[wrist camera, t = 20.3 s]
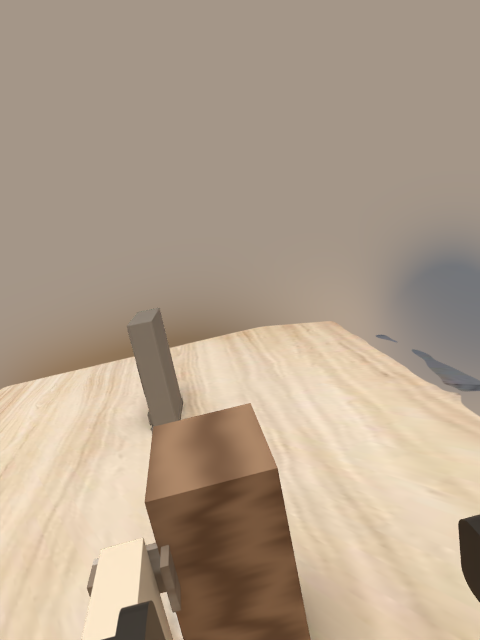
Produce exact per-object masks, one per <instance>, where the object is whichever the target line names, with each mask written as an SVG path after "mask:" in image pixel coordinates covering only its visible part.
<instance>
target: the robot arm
mask: <svg viewBox="0 0 480 640" xmlns="http://www.w3.org/2000/svg"><path fill="white" fill-rule="evenodd" d="M458 526H459V540H460V554H461V566H462V571H463V574H464V577H465V579H466V582H467V584H468V586H469V588H470V589H471V591H472V593H473V594H474V595H475V597H476V598H477V599H478V601H479V602H480V515H476V516H472V517H469V518H465V519H461V520H460V521H459V524H458ZM102 640H166V639H165V636H164V633H163V630H162V627H161V624H160V621H159V618H158V614H157V611H156V608H155V605H154V603H153V601H152V600H150V601H146V602H143V603H139V604H135V605H131V606H127V607H124V608H121V610H120V612H119V616H118V622H117V628H116V634H115V636H113V637H110V638H106V639H102Z"/></svg>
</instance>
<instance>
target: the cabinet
mask: <svg viewBox="0 0 480 640" xmlns="http://www.w3.org/2000/svg"><path fill="white" fill-rule="evenodd" d="M145 505H146V509H147V512H148V516H149V519H150V523H151V526H152V530H153V533H154V537H155V540H156V543H153V544H149V545H146V549H147V552H148V556H149V559H150V562H151V566H152V569H153V573H154V576H155V580H156V583H157V586H158V590H159V593H163V592H167V594H168V598H169V601H170V605H171V608H172V612H176V614H177V618H178V621H179V625H180V628H181V632H182V635H183V639H184V640H310V635H309V630H308V624H307V619H306V614H305V609H304V604H303V598H302V593H301V588H300V583H299V578H298V572H297V567H296V562H295V557H294V551H293V546H292V541H291V536H290V531H289V525H288V520H287V515H286V510H285V504H284V499H283V494H282V489H281V484H280V478H279V473H278V468H277V466H276V463H275V461H274V458H273V456H272V454H271V451H270V449H269V446H268V444H267V442H266V439H265V437H264V434H263V432H262V430H261V427H260V425H259V422H258V420H257V418H256V415H255V413H254V411H253V408H252V406H251V403H249V404H245V405H241V406H237V407H233V408H228V409H224V410H220V411H216V412H212V413H208V414H204V415H200V416H195V417H191V418H187V419H183V420H179V421H175V422H171V423H167V424H163V425H158V426H154V427H153V434H152V443H151V452H150V461H149V469H148V478H147V487H146V496H145ZM98 560H99V558H97V559H94V561H93V565H92V569H91V573H90V577H89V581H88V585H87V590H88V593H89V596H90V597H91V593H92V588H93V583H94V579H95V574H96V570H97V565H98Z"/></svg>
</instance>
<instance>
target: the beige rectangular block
mask: <svg viewBox="0 0 480 640" xmlns="http://www.w3.org/2000/svg"><path fill="white" fill-rule="evenodd" d="M150 600H152V601H153V603H154V605H155V608H156V611H157V614H158V618H159V621H160V624H161V627H162V630H163V633H164V636H165V639H166V640H173V638H172V634H171V631H170V627H169V624H168V621H167V617H166V614H165V610H164V607H163V603H162V600H161V597H160V593H159V590H158V586H157V583H156V580H155V576H154V573H153V569H152V566H151V562H150V559H149V556H148V552H147V549H146V545H145V542H144V538H140V539H137V540H133V541H129V542H126V543H122V544H119V545H115V546H111V547H108V548H104V549H101V551H100V556H99V560H98V565H97V570H96V574H95V579H94V583H93V588H92V593H91V597H90V602H89V607H88V611H87V616H86V621H85V625H84V630H83V634H82V639H81V640H102V639H106V638H110V637H113V636H115V634H116V628H117V622H118V616H119V612H120V610H121V608H124V607H127V606H131V605H135V604H139V603H143V602H146V601H150Z"/></svg>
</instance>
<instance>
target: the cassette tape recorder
mask: <svg viewBox="0 0 480 640" xmlns="http://www.w3.org/2000/svg"><path fill="white" fill-rule="evenodd" d="M127 329H128V333H129V337H130V340H131V344H132V348H133V352H134V356H135V359H136V364H137V368H138V372H139V375H140V379H141V383H142V387H143V390H144V394H145V397H146V400H147V404H148V408H149V412H148V418H149V422H150V425H152V428H151V430H152V434H153V427H154V426H158V425H163V424H167V423H171V422H175V421H179V420H180V417H181V411H182V405H183V400H182V398H181V394H180V390H179V386H178V382H177V378H176V374H175V370H174V366H173V362H172V357H171V353H170V349H169V345H168V341H167V338H166V333H165V329H164V325H163V321H162V317H161V313H160V308H156V309H151V310H146V311H141V312H138V313H137V314H136V315H135V317H134V318H133V319H132V320H131V322H130V323H129V324H128V325H127Z"/></svg>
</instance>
